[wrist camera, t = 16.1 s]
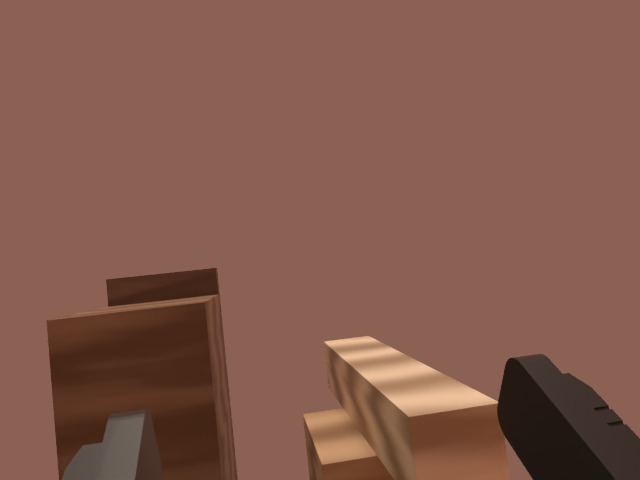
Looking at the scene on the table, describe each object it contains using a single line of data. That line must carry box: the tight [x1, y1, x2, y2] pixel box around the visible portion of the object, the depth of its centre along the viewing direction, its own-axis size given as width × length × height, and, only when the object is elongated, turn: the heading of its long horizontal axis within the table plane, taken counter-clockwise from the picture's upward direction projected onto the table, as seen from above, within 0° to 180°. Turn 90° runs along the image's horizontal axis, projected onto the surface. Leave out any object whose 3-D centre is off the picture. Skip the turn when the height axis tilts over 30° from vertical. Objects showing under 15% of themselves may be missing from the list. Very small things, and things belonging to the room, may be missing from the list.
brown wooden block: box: [324, 336, 510, 480], centre depth 33 cm, size 24×4×4 cm, turn 8°
